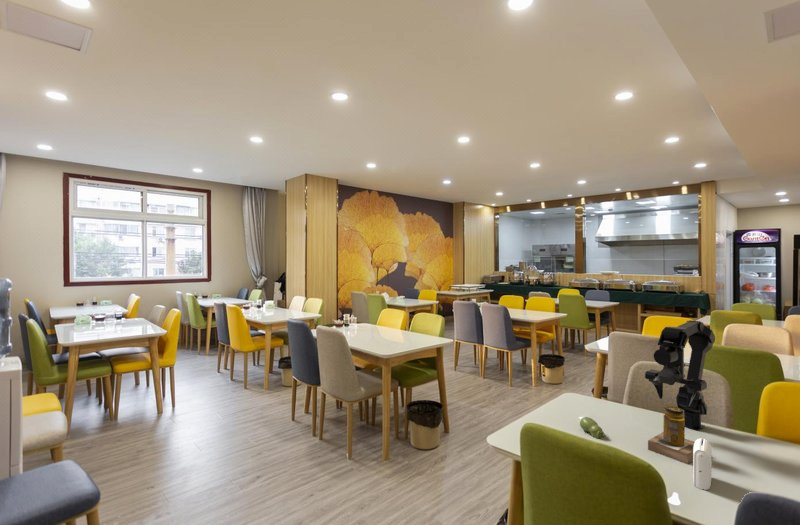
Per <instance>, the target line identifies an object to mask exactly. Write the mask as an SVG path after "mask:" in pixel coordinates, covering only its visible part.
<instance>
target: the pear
mask: <svg viewBox="0 0 800 525" xmlns="http://www.w3.org/2000/svg"><path fill="white" fill-rule="evenodd" d="M579 426H580V427H581V430H583V431H584V432H588V433H590V435H591V437H593V438H594V437H596V438H595V439H601V438H604V435H605V432H604V431H603V428H602V427H601V426H599V424H598V423H597V421H596V420H594V419H593V418H591V417H588V416H585V417H582V418H581V419H580V421H579Z"/></svg>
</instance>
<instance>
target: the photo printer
mask: <svg viewBox="0 0 800 525" xmlns="http://www.w3.org/2000/svg"><path fill="white" fill-rule="evenodd" d="M694 442H695V443H694V447H693V461H692V466H693V467H692V470H693V471H692V480H693V486H695V487H696V488H697V487H698V488H697V489H699V490H700V489H701V490H703V489H704V491H707V490H710V488H711V486H712V485H711V483H712V475H713V474H712V472H713V470H712V468H713V466H712V465H713V464H712V461H713V460H712V458H713V457H712V455H713V454H712V444H711V443H710V441H709V440H707V439H705V438H697V439H696V440H694Z"/></svg>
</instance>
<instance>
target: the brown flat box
mask: <svg viewBox="0 0 800 525" xmlns="http://www.w3.org/2000/svg"><path fill="white" fill-rule="evenodd" d="M662 438H663V431H662V432H660V433H659V434H657V435H655V436H654V437H651V438H650V439H648V440H647V450H648V451H650V452H653V453H655V454H659V455H661V456H664V457H667V458H669V459H672V460H675V461H678V462H680V463H684V464H686V465H689V464H690V463H693V447H694V443H695V440H694V441H693V440H690V439H687V438H685V440H684V442H685V443H688V444H690V445H688V446H686V447H684V448H682V449H680V450H675V449H672V448H670V447H667V446H664V445H662V444H659V443H657V442H655V441H656V440H659V439H662Z"/></svg>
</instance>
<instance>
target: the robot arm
mask: <svg viewBox="0 0 800 525" xmlns="http://www.w3.org/2000/svg"><path fill="white" fill-rule="evenodd" d="M715 341H716V336H715V334H714V331H713V329H711V328H710V327H708V326H707V325H705V324H704V322H702V321H699V320H691V319H690V320H686V321H685V322H684V323H682V324H680V325H678V326H665V327H664V328H663V329H661V333H660V336H659V338H658V343H657V346H659V349H657V350H655V351H654V353H653V359H654V361H655V362H656V363H657V364H658V365H661V366H663V367H662V369H660V370H657V369H653V368H652V369H649V370H646V371H645V372H644V379H646V380H648V382H651V384H652V385H653V386H654V388H655V390H656V393H657V395H658V397H659V399H660V400H662V399H663V396H664V384H665V385H668V386H674V385H675V383H677V384H682V385H683V386H679V388H678V392H677V395H676V405H677V406H676V407H677V408H680V409H682V410H683V415H684V416H683V418H684V419H685V428H688V429H693V430H695V431H700V430H702V429H704V428H705V425H704V424H702V416H704V415H705V416H707V415H708V405H707V403H706V401H705V400H704V397H705V396H704V394H703V392H702V391H704V390H706V389H708V383H707V381H706V380H703V379H702V378H703V372H704V366H705V362H706V354H707V353H708V352H710V350H711V349H713V345H714V343H715ZM687 343H688V345H689V346H690V348H691V352H690V357H689V364H688V369H687V374H686V375H685V374H684V373H685V371H684V370H685V367H686V363H685V361H684V360H685V359H684V358H685V356H684V355H685V354H684V352H685V350H684V349H685V348H686V345H687Z"/></svg>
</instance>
